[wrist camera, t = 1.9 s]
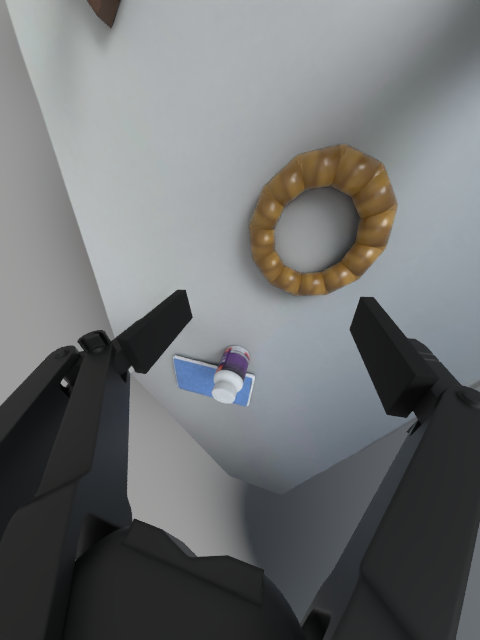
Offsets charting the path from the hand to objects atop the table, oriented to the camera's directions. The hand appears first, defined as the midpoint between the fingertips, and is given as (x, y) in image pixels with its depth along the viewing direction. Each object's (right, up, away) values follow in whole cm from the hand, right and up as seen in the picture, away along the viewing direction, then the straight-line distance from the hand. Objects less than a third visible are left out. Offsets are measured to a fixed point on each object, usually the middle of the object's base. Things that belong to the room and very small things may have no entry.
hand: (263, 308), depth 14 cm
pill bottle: (-2, -8, +23) cm, 24 cm away
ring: (+7, +9, +7) cm, 13 cm away
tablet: (-8, -15, +30) cm, 35 cm away
